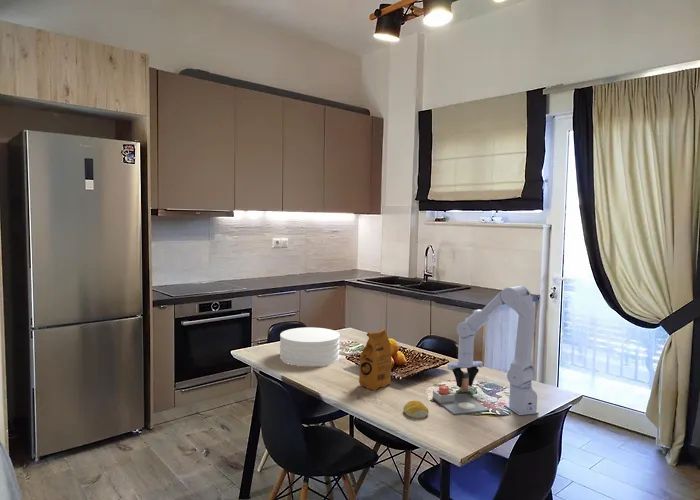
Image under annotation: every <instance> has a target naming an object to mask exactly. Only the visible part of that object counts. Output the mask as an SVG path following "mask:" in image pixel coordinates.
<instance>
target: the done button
mask: <svg viewBox="0 0 700 500" xmlns="http://www.w3.org/2000/svg"><path fill="white" fill-rule="evenodd" d="M438 390H439V394H441V395H447V394H449V391H450V387H449V386H447V385H440V386H438Z"/></svg>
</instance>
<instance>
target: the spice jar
mask: <svg viewBox="0 0 700 500" xmlns="http://www.w3.org/2000/svg"><path fill="white" fill-rule="evenodd" d="M463 372H464V373H463V376H462V385H461V387H459V391H460V392H462V393H469V388H470V386H469V373H467V371H466V372H465V371H463Z"/></svg>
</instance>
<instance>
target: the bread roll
mask: <svg viewBox="0 0 700 500" xmlns="http://www.w3.org/2000/svg"><path fill="white" fill-rule="evenodd" d="M402 409H403V413H404V414H405V415H406V417H409V418H413V419H423V418H426V417H427V416H428V415H429V408H428V407H427V406H425V405H424V403H423V402H421V401H419V400H410V401H408V402H406V403H405V404H404V406H403V408H402Z"/></svg>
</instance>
